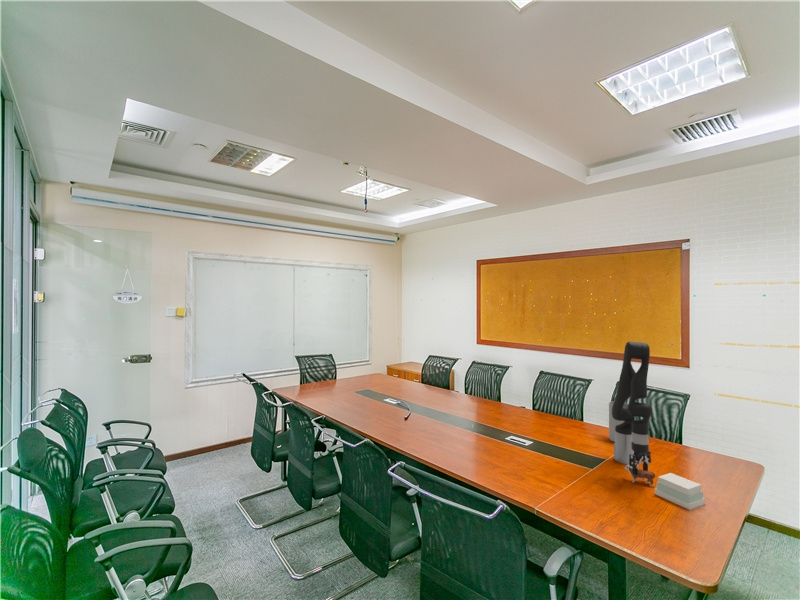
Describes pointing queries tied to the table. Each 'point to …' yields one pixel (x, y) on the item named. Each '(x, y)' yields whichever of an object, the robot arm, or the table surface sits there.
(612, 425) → the cylinder vase
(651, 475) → the bull figurine
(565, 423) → the table surface
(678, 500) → the white stepped block
